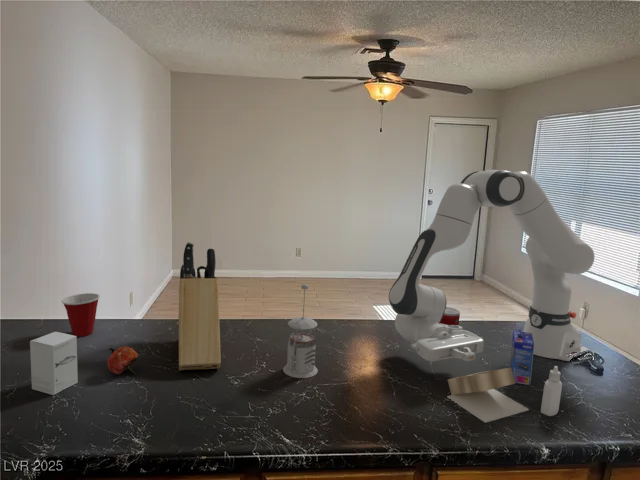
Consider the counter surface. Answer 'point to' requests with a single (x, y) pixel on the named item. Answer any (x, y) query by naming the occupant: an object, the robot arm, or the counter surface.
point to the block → (481, 381)
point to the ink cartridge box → (522, 356)
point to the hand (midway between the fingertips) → (471, 357)
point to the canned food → (450, 317)
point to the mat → (488, 404)
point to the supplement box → (53, 362)
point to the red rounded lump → (121, 359)
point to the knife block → (198, 314)
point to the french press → (301, 348)
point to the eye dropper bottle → (552, 393)
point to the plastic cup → (81, 312)
